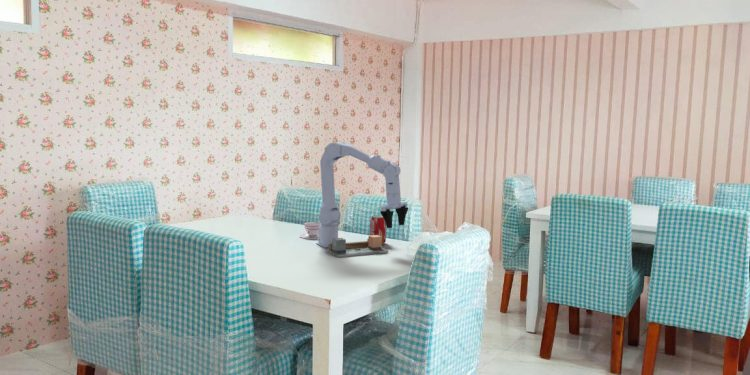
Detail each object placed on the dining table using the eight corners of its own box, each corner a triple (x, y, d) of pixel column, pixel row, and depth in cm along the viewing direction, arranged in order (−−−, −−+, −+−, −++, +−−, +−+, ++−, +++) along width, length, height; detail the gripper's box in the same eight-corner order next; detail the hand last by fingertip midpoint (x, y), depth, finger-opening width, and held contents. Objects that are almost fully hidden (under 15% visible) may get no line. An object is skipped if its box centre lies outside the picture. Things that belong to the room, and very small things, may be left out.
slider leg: (364, 246, 265) (365, 234, 264) (373, 245, 267) (374, 233, 266) (372, 249, 259) (372, 237, 258) (381, 248, 260) (381, 236, 260)
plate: (326, 251, 258) (326, 249, 258) (374, 247, 268) (374, 244, 268) (338, 257, 248) (338, 254, 247) (388, 252, 257) (388, 250, 257)
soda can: (384, 245, 272) (384, 217, 271) (368, 244, 274) (368, 217, 273) (387, 242, 279) (387, 215, 278) (371, 241, 281) (371, 214, 279)
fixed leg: (329, 249, 258) (329, 237, 257) (338, 248, 260) (338, 236, 259) (336, 252, 251) (336, 240, 251) (345, 251, 253) (346, 239, 253)
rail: (328, 248, 259) (328, 244, 258) (372, 245, 268) (372, 240, 267) (330, 249, 257) (330, 244, 257) (374, 246, 266) (374, 241, 266)
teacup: (331, 236, 292) (331, 223, 292) (315, 240, 282) (315, 226, 281) (310, 233, 299) (310, 220, 298) (294, 237, 288) (294, 224, 288)
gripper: (389, 195, 251) (391, 229, 252) (412, 191, 262) (414, 224, 263) (375, 195, 256) (378, 228, 257) (399, 191, 267) (401, 223, 268)
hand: (395, 226), depth 260 cm, fingers open, 7 cm apart
